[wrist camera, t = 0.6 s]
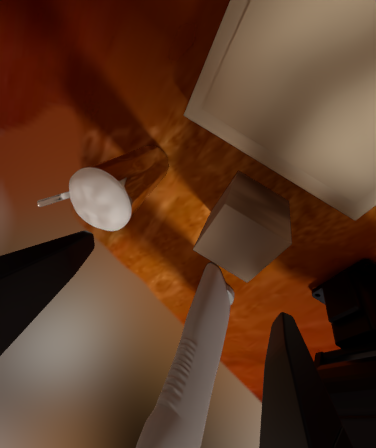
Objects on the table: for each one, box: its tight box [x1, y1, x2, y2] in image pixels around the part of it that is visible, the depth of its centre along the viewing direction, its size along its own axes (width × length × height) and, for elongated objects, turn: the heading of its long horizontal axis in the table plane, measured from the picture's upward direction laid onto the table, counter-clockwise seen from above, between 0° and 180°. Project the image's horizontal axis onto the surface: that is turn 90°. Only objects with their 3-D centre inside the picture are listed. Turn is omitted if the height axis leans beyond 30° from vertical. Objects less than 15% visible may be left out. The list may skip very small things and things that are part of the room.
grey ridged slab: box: [136, 262, 234, 448], centre depth 19 cm, size 11×4×22 cm, turn 14°
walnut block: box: [193, 171, 292, 282], centre depth 18 cm, size 5×5×6 cm
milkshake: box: [37, 145, 169, 231], centre depth 17 cm, size 4×5×10 cm
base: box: [184, 0, 376, 220], centre depth 12 cm, size 14×12×3 cm
